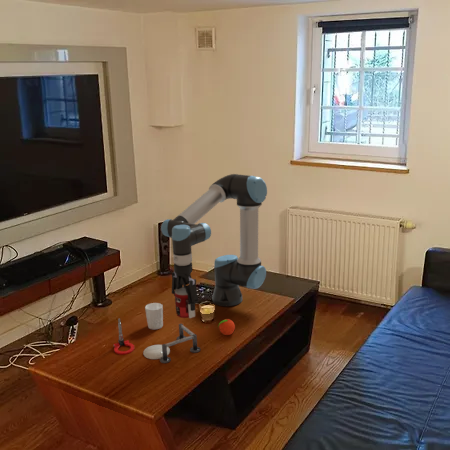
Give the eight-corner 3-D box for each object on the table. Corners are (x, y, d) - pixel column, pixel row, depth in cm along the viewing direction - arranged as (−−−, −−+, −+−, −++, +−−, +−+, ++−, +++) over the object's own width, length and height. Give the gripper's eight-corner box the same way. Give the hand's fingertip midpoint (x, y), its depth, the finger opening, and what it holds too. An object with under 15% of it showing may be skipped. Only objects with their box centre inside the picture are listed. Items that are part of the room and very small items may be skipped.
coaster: (162, 343, 237) (162, 342, 237) (174, 353, 228) (174, 352, 228) (139, 351, 231) (139, 349, 231) (150, 362, 222) (150, 360, 222)
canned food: (177, 310, 234) (176, 286, 231) (196, 310, 234) (194, 286, 231) (174, 318, 227) (173, 293, 224) (194, 318, 227) (192, 293, 224)
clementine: (221, 339, 238) (220, 325, 236) (214, 333, 244) (214, 318, 242) (237, 335, 241) (237, 320, 239) (231, 329, 247) (230, 314, 245)
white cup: (161, 330, 248) (159, 310, 245) (144, 329, 250) (142, 309, 247) (166, 322, 255) (164, 303, 252) (150, 321, 257) (148, 302, 254)
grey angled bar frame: (183, 335, 243) (182, 321, 241) (202, 350, 229) (201, 335, 227) (145, 348, 233) (144, 333, 231) (162, 364, 220) (161, 349, 218)
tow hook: (137, 352, 231) (130, 342, 239) (134, 325, 227) (128, 315, 235) (117, 357, 228) (111, 346, 236) (114, 330, 223) (108, 320, 231)
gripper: (160, 259, 229) (164, 309, 236) (191, 271, 214) (193, 324, 221) (175, 254, 234) (178, 303, 240) (206, 266, 219) (208, 318, 225)
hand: (185, 313), depth 230 cm, fingers closed on canned food, 8 cm apart
